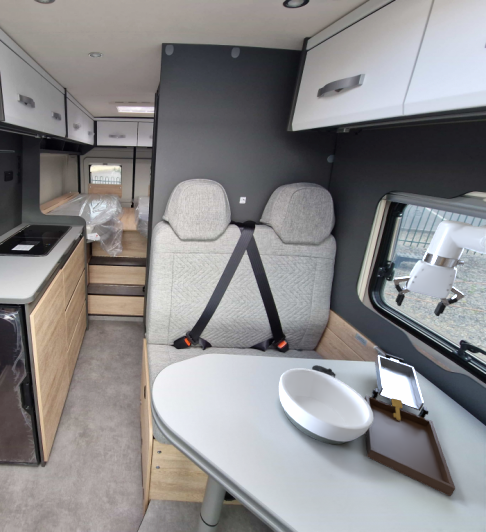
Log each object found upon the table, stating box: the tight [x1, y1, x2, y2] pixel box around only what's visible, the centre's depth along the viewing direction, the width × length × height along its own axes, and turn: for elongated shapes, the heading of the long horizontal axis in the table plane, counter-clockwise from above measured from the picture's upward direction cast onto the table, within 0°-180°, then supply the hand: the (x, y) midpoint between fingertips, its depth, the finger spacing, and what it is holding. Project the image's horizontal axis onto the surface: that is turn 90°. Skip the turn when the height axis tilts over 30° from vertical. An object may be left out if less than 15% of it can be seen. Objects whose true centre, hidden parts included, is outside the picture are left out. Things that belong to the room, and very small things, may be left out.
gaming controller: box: [311, 364, 337, 378], centre depth 103 cm, size 10×5×6 cm
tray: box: [364, 394, 456, 497], centre depth 82 cm, size 24×16×3 cm, turn 146°
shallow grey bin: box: [374, 353, 425, 412], centre depth 100 cm, size 23×10×3 cm, turn 146°
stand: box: [370, 387, 430, 418], centre depth 92 cm, size 2×13×5 cm, turn 56°
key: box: [390, 398, 404, 421], centre depth 90 cm, size 6×2×1 cm
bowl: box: [278, 367, 374, 445], centre depth 86 cm, size 22×22×8 cm
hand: (416, 309), depth 101 cm, fingers open, 9 cm apart
